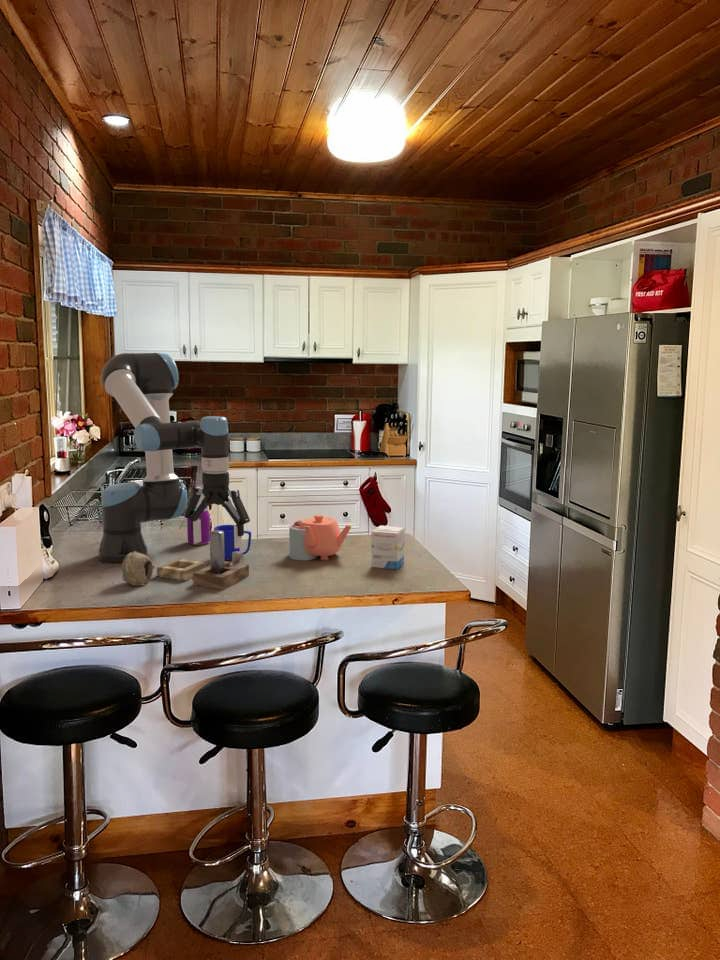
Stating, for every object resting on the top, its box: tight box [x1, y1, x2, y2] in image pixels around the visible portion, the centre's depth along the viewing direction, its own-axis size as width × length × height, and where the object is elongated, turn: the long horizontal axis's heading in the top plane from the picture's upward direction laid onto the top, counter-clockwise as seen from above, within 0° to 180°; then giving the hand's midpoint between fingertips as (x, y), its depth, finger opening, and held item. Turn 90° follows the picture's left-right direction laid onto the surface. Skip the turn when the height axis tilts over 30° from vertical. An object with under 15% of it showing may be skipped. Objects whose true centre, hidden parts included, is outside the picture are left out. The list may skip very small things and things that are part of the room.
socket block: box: [192, 560, 250, 590], centre depth 223 cm, size 14×10×4 cm
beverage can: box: [186, 506, 211, 546], centre depth 263 cm, size 8×8×12 cm
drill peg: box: [209, 529, 226, 574], centre depth 221 cm, size 4×4×15 cm
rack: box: [156, 557, 206, 582], centre depth 229 cm, size 10×10×3 cm
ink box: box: [371, 525, 406, 570], centre depth 240 cm, size 9×8×12 cm
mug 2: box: [288, 523, 319, 561], centre depth 248 cm, size 14×9×10 cm
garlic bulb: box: [121, 551, 155, 586], centre depth 220 cm, size 9×8×10 cm
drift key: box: [229, 550, 245, 568], centre depth 229 cm, size 8×3×6 cm, turn 158°
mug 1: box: [213, 524, 252, 561], centre depth 245 cm, size 8×12×10 cm
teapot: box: [293, 514, 352, 561], centre depth 249 cm, size 16×17×14 cm
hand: (217, 544), depth 220 cm, fingers open, 13 cm apart
